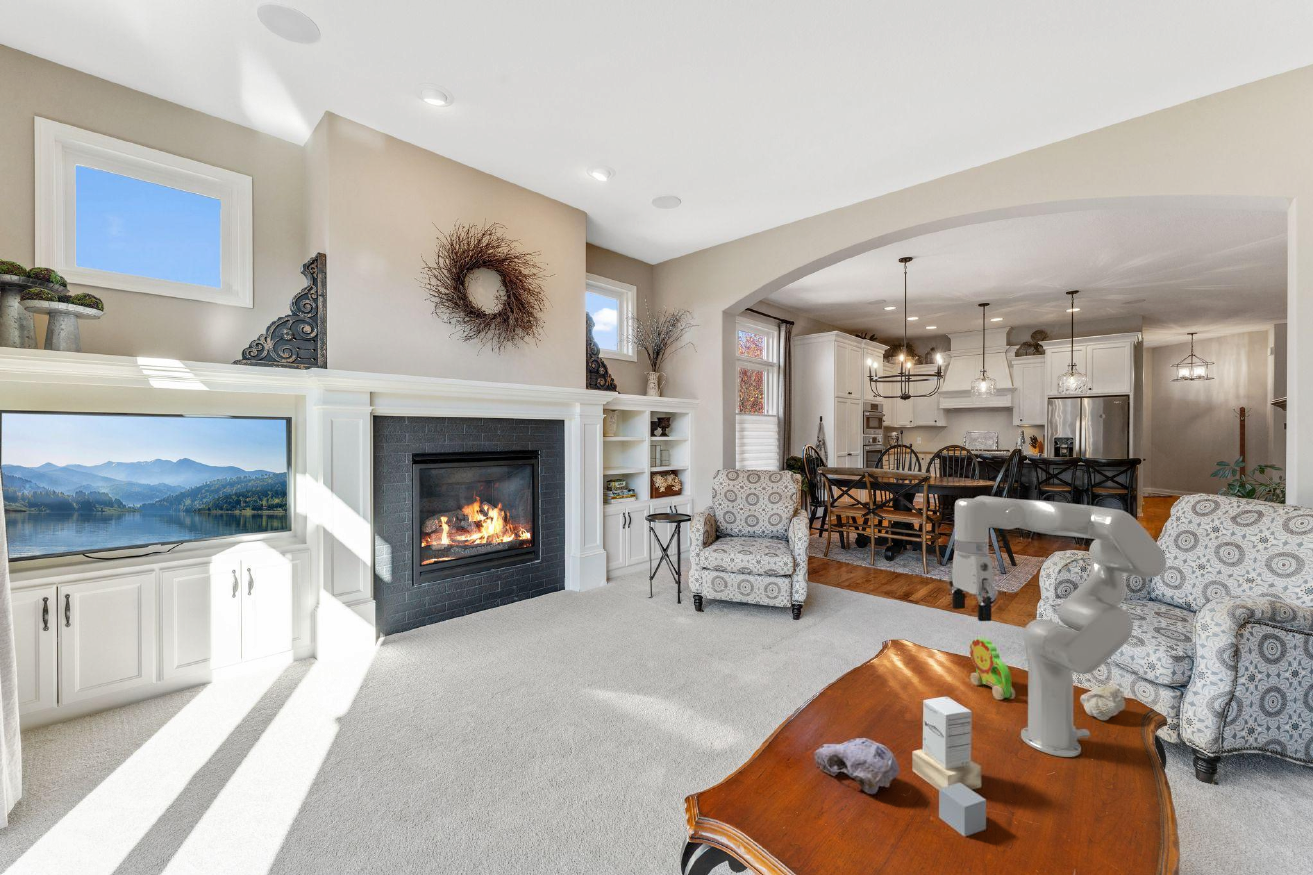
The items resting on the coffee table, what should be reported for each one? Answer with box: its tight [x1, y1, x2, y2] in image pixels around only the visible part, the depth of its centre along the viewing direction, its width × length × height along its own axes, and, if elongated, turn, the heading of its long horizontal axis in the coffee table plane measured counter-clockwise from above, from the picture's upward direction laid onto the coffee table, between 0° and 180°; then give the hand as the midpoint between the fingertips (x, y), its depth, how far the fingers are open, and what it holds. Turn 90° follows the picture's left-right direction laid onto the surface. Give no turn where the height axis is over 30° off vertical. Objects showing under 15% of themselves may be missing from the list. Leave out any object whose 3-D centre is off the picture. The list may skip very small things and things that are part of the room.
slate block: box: [938, 783, 987, 838], centre depth 112 cm, size 6×6×6 cm
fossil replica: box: [1079, 686, 1126, 721], centre depth 156 cm, size 12×8×10 cm
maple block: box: [911, 748, 982, 791], centre depth 127 cm, size 10×10×5 cm
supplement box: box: [922, 696, 973, 769], centre depth 127 cm, size 7×7×13 cm
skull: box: [813, 737, 900, 795], centre depth 128 cm, size 19×12×10 cm, turn 36°
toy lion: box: [969, 637, 1016, 701], centre depth 172 cm, size 16×5×15 cm, turn 6°
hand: (971, 614), depth 139 cm, fingers open, 9 cm apart
